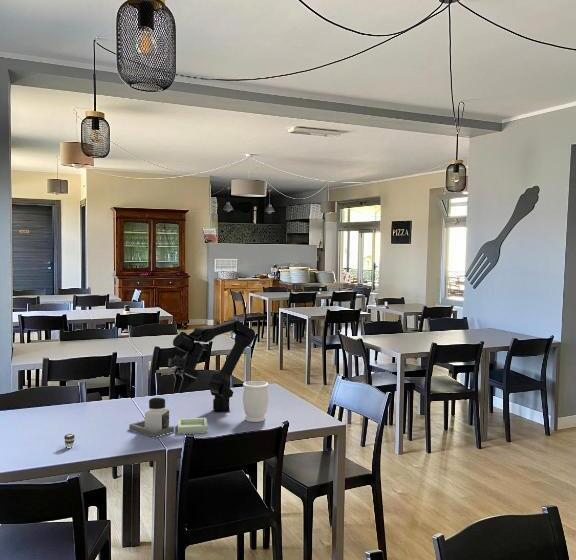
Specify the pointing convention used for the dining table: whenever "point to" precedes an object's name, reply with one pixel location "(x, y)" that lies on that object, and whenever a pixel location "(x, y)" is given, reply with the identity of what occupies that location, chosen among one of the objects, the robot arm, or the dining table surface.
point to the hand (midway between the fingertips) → (177, 392)
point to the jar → (255, 400)
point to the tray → (192, 425)
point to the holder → (139, 428)
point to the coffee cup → (69, 440)
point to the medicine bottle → (157, 415)
